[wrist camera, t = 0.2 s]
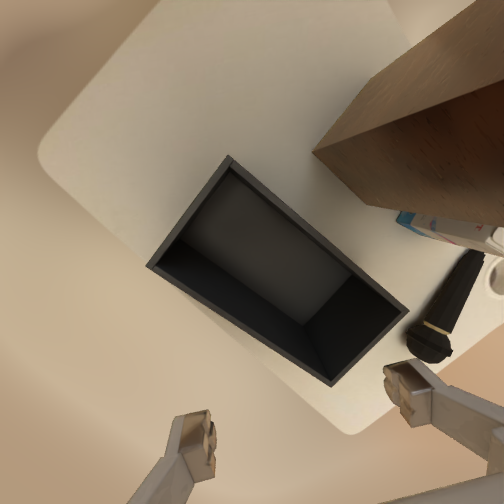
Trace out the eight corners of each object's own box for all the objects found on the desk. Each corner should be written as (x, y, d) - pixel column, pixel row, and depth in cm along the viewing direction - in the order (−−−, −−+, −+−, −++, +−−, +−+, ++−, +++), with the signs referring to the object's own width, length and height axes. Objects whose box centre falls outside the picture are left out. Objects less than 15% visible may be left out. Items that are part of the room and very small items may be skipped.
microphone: (453, 225, 36) (392, 342, 38) (484, 222, 30) (410, 359, 32) (491, 240, 35) (426, 358, 37) (529, 240, 30) (451, 379, 32)
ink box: (422, 237, 33) (523, 266, 22) (394, 221, 32) (484, 242, 21) (462, 179, 31) (595, 177, 20) (433, 160, 30) (556, 147, 19)
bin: (173, 238, 30) (144, 266, 20) (228, 164, 28) (227, 154, 18) (302, 328, 35) (331, 388, 25) (355, 272, 33) (410, 311, 23)
